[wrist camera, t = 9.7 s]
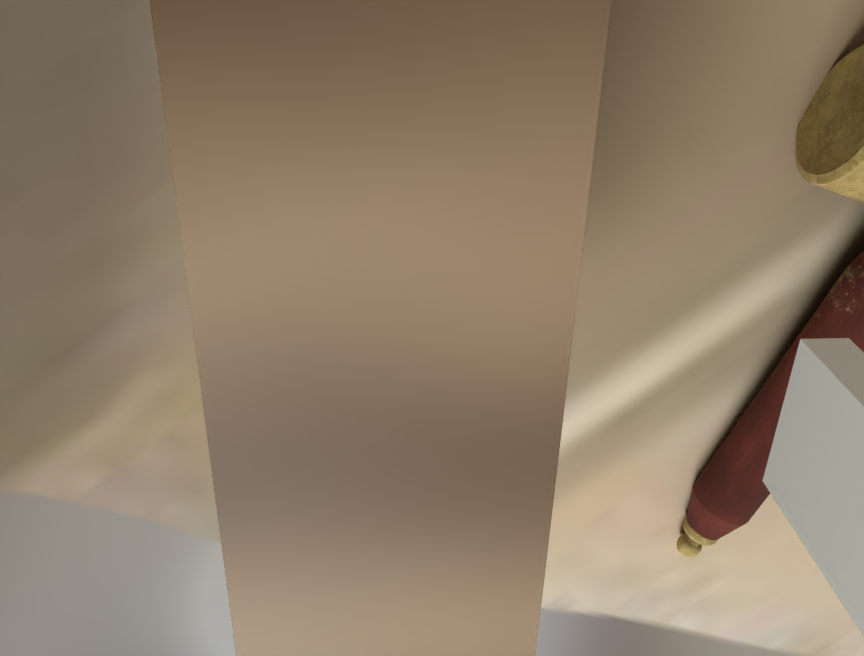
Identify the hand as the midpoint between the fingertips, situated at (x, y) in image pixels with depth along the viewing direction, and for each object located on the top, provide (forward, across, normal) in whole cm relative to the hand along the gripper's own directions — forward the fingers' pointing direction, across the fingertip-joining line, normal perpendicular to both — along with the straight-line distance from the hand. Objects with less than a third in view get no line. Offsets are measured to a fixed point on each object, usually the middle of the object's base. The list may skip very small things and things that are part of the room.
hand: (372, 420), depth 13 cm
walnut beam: (+6, 0, 0) cm, 6 cm away
